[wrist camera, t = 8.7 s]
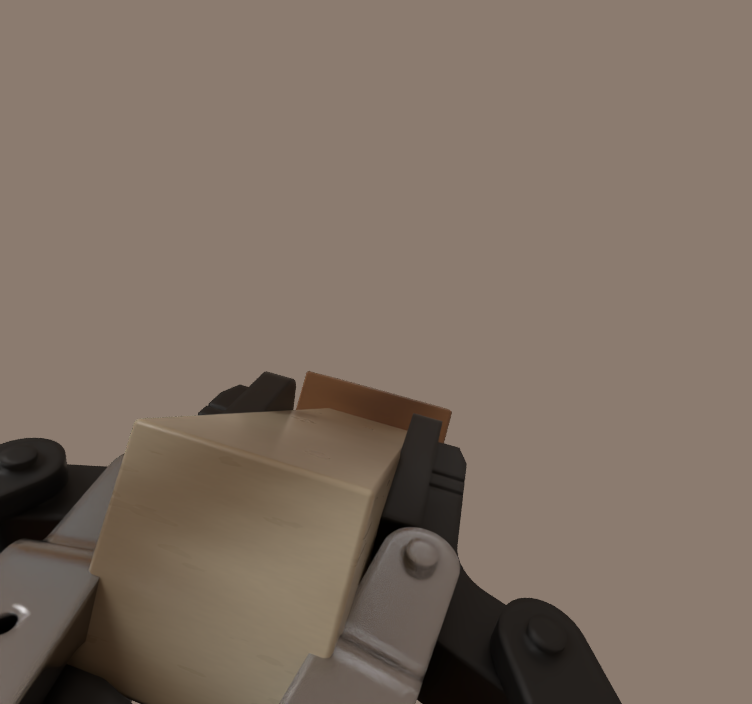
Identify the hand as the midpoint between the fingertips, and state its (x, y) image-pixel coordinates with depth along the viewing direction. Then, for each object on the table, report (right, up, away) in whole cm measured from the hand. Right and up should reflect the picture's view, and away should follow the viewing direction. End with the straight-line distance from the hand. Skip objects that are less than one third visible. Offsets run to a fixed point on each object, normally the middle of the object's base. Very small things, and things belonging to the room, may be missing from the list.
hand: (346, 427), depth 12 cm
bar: (-1, -3, +1) cm, 3 cm away
